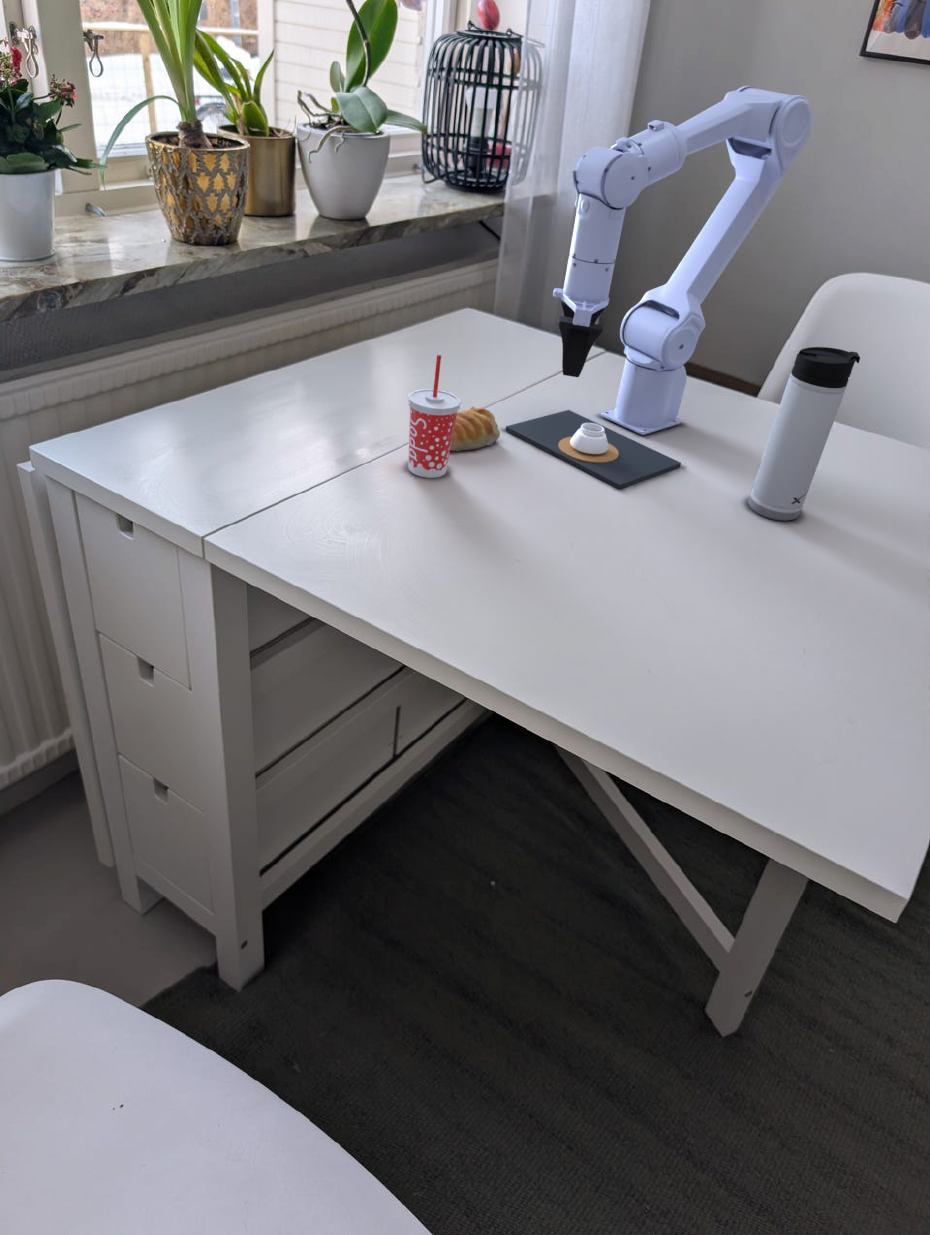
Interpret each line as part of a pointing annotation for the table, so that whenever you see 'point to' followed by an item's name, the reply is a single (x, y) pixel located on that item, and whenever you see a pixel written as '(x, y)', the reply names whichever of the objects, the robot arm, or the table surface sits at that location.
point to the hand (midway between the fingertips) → (571, 366)
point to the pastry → (474, 429)
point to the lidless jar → (590, 439)
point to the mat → (614, 466)
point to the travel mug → (801, 431)
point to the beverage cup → (431, 428)
